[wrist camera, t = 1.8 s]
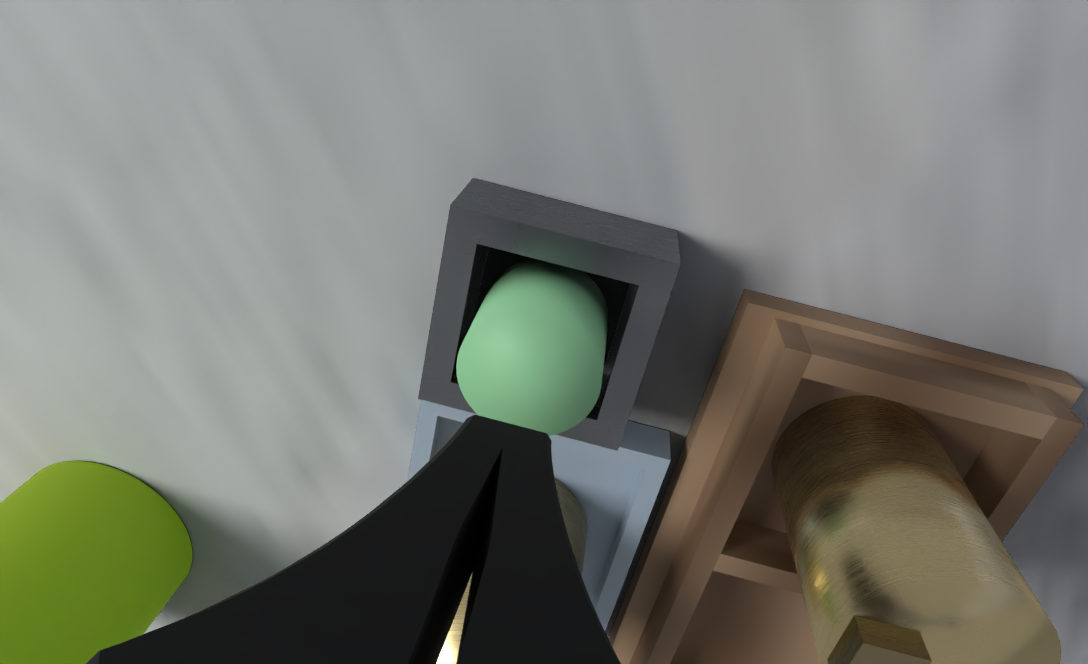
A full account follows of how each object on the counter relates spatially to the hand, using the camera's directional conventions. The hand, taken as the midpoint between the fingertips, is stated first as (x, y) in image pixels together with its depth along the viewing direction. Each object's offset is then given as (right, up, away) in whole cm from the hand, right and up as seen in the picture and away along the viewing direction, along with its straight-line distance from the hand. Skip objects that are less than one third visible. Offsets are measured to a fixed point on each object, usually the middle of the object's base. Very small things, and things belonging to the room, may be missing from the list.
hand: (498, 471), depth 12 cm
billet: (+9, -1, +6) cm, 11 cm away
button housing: (+1, +3, +6) cm, 7 cm away
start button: (+1, +3, +5) cm, 6 cm away
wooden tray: (+8, -3, +9) cm, 12 cm away
